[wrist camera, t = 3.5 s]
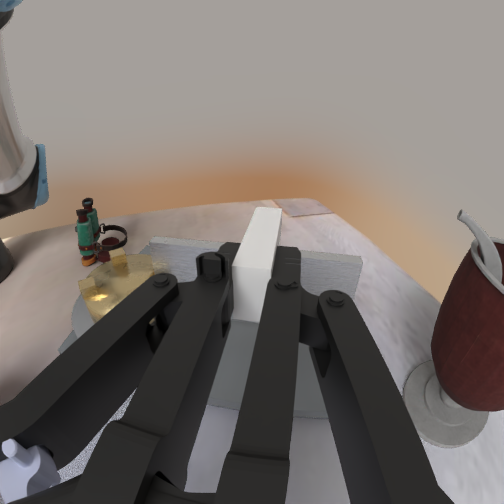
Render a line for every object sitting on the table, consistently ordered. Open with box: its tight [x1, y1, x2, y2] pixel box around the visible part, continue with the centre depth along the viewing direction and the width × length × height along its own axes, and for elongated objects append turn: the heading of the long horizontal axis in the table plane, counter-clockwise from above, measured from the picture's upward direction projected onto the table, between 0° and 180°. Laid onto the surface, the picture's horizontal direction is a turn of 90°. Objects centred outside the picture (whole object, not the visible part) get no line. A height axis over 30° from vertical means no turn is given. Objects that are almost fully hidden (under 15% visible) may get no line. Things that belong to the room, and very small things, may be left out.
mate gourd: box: [402, 210, 504, 448], centre depth 18 cm, size 16×14×20 cm
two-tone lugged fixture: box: [78, 236, 363, 324], centre depth 27 cm, size 28×11×8 cm, turn 81°
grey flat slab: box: [58, 245, 329, 419], centre depth 35 cm, size 31×26×4 cm
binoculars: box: [75, 198, 127, 266], centre depth 46 cm, size 9×11×10 cm
